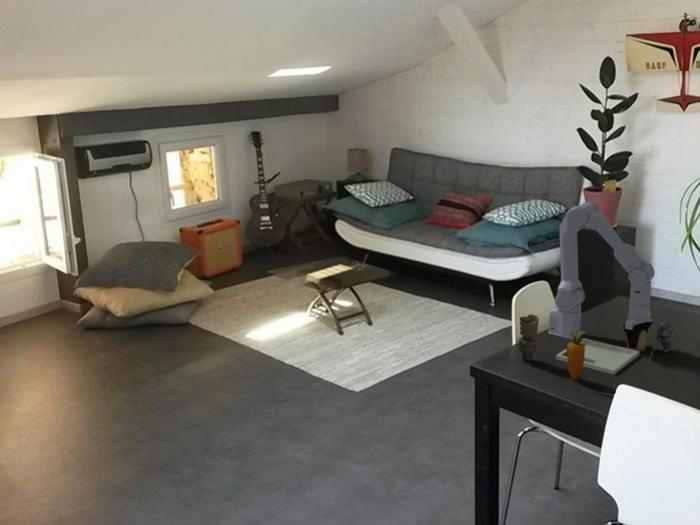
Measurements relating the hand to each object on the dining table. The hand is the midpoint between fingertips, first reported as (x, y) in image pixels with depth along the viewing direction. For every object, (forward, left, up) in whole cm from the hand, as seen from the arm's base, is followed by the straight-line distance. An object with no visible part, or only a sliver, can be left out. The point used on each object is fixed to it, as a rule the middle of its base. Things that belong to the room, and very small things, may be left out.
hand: (636, 344), depth 224 cm
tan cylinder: (0, 0, -2) cm, 2 cm away
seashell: (+7, +4, -2) cm, 8 cm away
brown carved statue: (-21, -29, -2) cm, 36 cm away
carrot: (-4, -33, -2) cm, 33 cm away
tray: (-6, -14, -2) cm, 15 cm away
